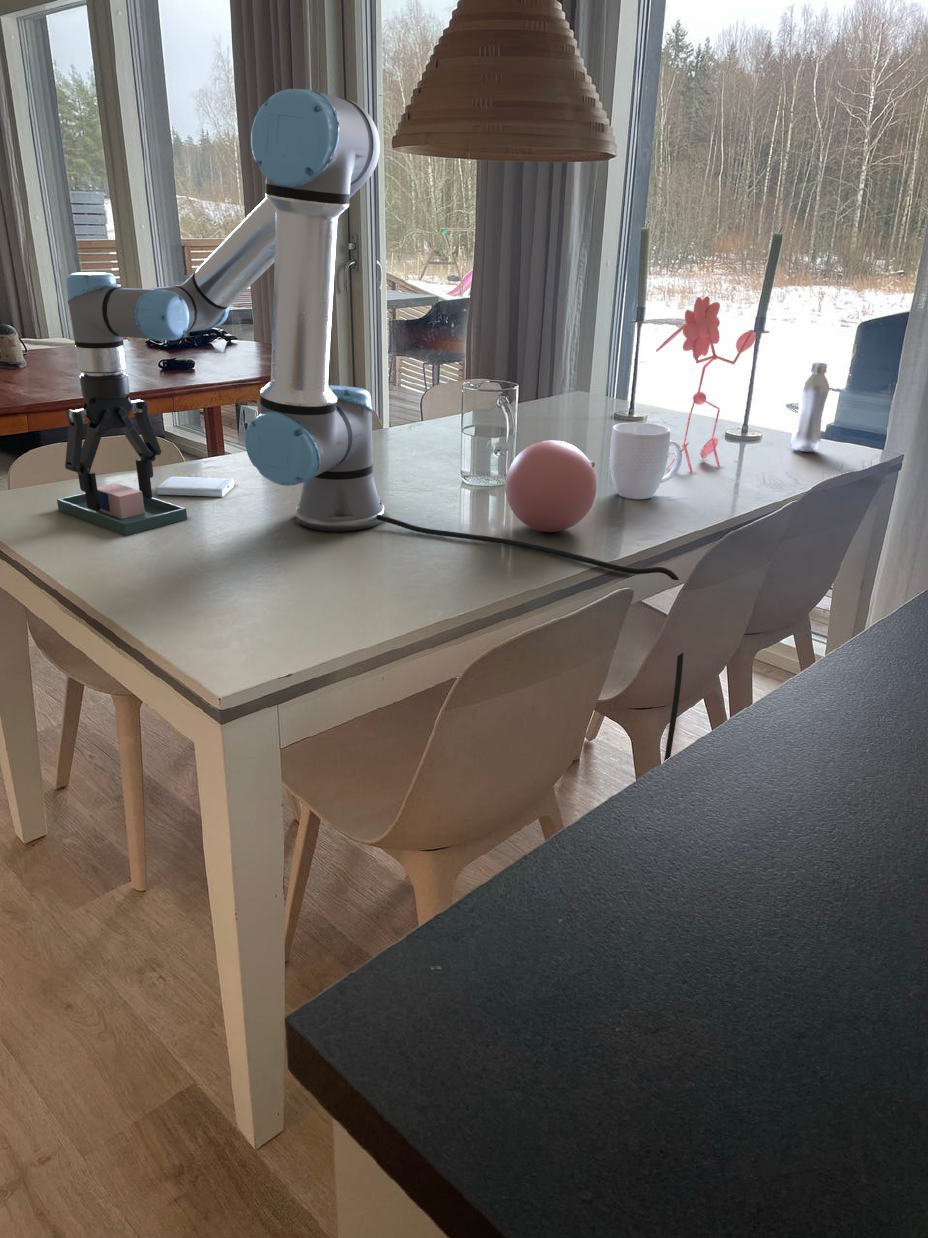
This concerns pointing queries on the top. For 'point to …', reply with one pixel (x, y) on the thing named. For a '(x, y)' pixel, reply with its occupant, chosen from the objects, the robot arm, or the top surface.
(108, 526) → the tray
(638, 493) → the mug
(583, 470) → the balloon
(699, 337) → the figurine
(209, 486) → the hard drive
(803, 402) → the plastic bottle
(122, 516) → the eraser
